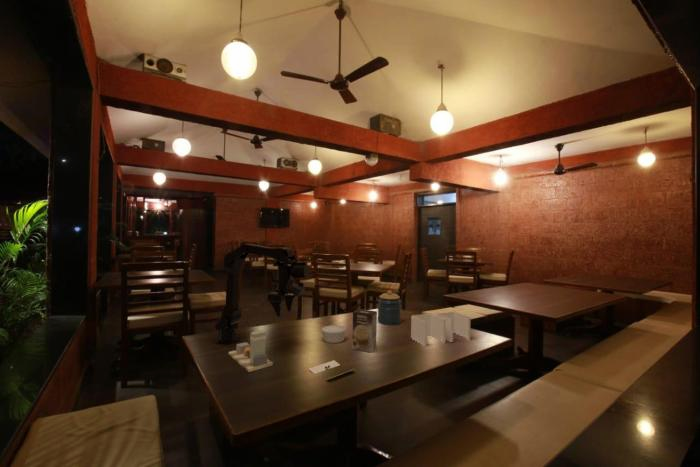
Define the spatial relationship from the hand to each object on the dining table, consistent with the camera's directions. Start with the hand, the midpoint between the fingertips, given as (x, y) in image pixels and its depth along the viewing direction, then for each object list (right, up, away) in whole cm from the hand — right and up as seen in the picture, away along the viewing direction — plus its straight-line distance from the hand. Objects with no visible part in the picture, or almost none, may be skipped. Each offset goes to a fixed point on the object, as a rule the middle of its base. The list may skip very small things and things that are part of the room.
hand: (284, 313), depth 134 cm
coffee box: (+34, -15, +1) cm, 37 cm away
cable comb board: (-11, -15, -12) cm, 22 cm away
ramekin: (+21, -15, +12) cm, 28 cm away
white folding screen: (+70, -16, +14) cm, 73 cm away
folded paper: (+21, -16, -22) cm, 34 cm away
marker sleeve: (-6, -13, -17) cm, 23 cm away
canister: (+50, -15, +42) cm, 67 cm away
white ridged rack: (-11, -15, -12) cm, 22 cm away
